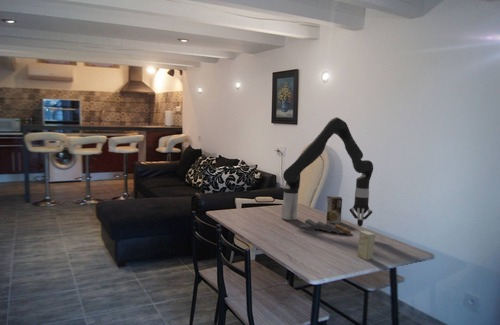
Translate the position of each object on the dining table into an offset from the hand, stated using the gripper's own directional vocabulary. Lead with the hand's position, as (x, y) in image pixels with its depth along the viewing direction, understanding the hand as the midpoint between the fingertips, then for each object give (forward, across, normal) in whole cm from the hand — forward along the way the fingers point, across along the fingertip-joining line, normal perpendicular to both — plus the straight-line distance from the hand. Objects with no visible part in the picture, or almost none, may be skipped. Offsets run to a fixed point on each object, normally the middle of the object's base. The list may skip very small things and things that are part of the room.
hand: (359, 226), depth 218 cm
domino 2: (+4, +22, 0) cm, 23 cm away
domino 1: (+5, +25, 0) cm, 25 cm away
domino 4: (+4, +10, 0) cm, 11 cm away
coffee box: (+6, +18, -23) cm, 30 cm away
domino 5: (+4, +5, 0) cm, 7 cm away
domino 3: (+4, +16, 0) cm, 16 cm away
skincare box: (+6, -6, +37) cm, 38 cm away
